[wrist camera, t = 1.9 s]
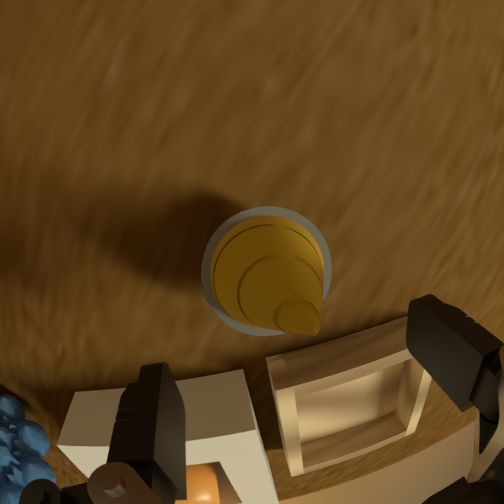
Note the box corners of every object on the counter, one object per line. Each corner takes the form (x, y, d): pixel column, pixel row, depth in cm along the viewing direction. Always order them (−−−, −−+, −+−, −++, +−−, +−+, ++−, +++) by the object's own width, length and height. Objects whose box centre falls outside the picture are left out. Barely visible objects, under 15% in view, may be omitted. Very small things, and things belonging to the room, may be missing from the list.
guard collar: (75, 391, 18) (56, 445, 13) (242, 368, 19) (255, 429, 14) (140, 476, 22) (138, 520, 17) (268, 461, 23) (279, 506, 18)
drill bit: (217, 318, 16) (223, 449, 7) (194, 218, 16) (158, 234, 6) (313, 296, 17) (417, 389, 7) (297, 197, 16) (408, 185, 6)
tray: (265, 357, 19) (275, 390, 16) (417, 311, 19) (441, 333, 17) (283, 449, 22) (291, 476, 20) (399, 409, 23) (414, 431, 21)
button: (134, 441, 17) (128, 495, 13) (204, 434, 18) (208, 491, 13) (160, 475, 19) (160, 521, 15) (222, 468, 19) (228, 517, 15)
